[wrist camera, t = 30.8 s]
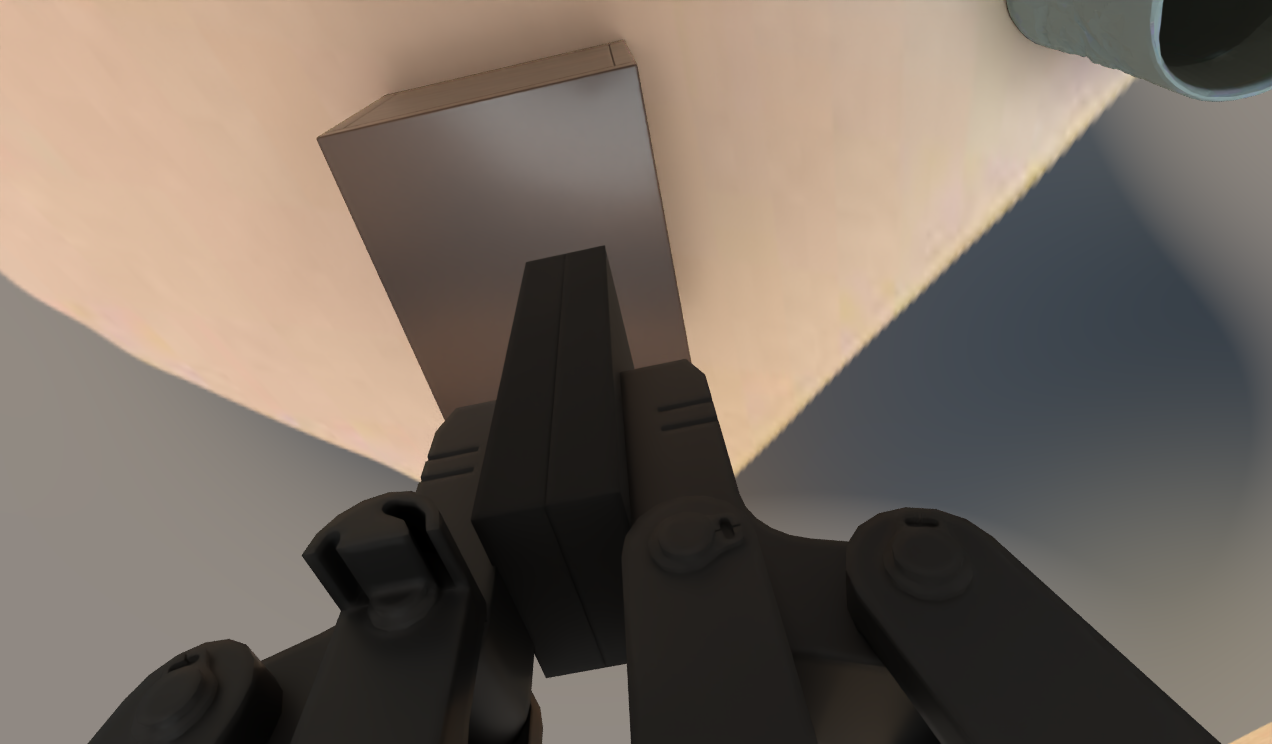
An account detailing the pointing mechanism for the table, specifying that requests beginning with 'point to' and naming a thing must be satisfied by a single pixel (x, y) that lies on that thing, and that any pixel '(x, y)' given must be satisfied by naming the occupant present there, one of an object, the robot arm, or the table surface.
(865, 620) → the robot arm
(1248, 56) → the grey green cup
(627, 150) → the cabinet
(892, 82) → the table surface
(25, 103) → the table surface
